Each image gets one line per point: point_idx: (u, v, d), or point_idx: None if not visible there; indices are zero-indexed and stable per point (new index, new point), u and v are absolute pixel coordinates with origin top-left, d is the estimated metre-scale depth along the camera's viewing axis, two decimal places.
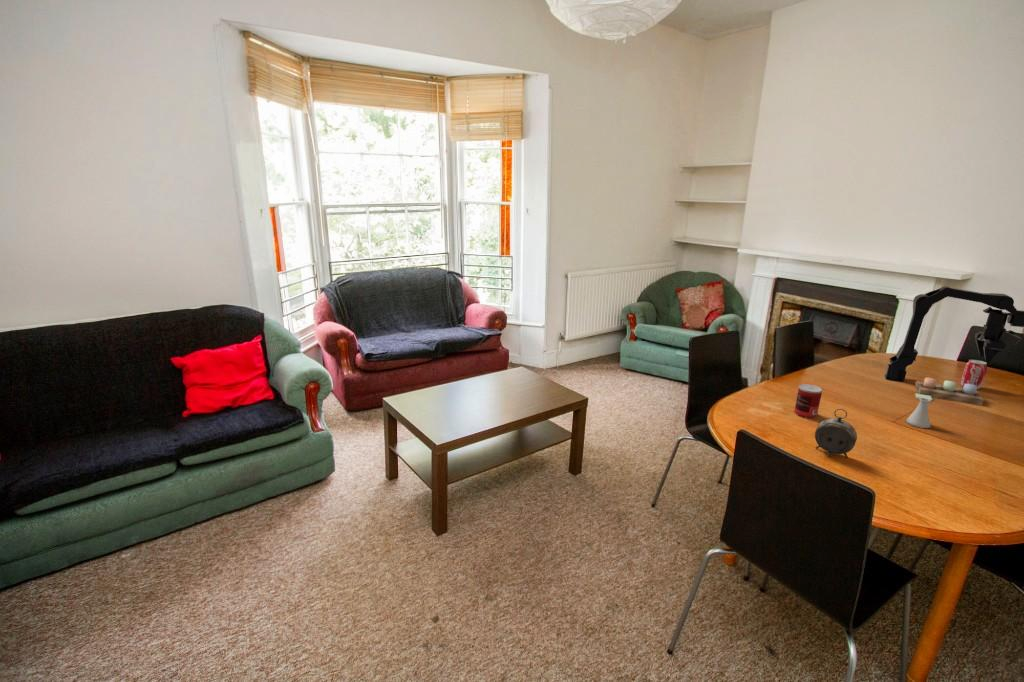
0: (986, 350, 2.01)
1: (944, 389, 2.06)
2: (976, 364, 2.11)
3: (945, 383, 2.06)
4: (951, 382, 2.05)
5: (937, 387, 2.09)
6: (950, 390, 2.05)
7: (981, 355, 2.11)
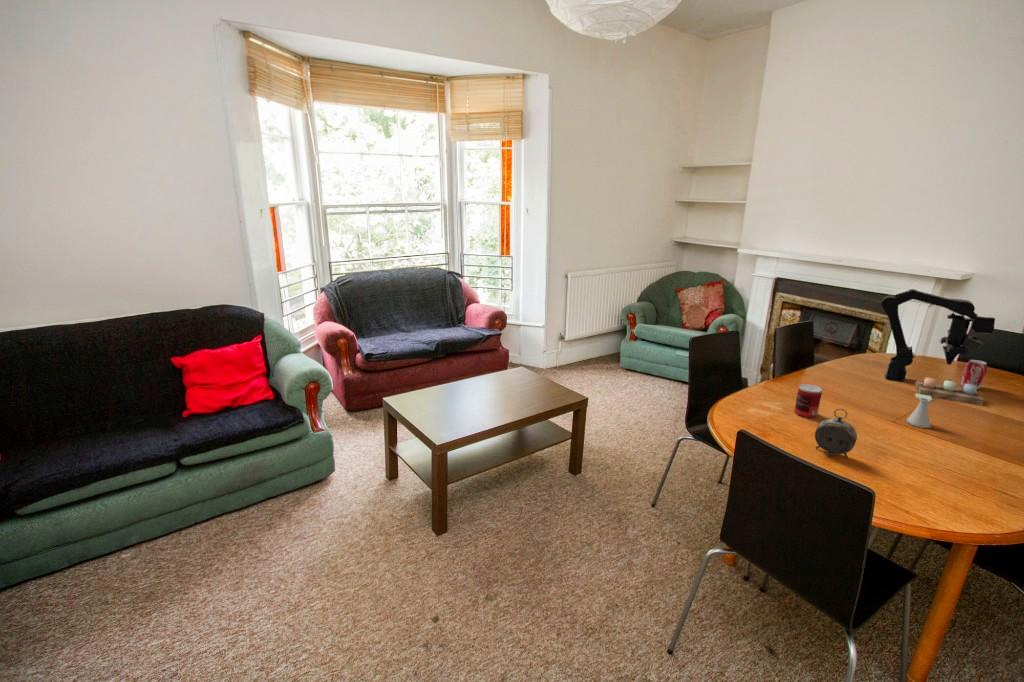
0: (947, 352, 2.10)
1: (944, 389, 2.06)
2: (976, 364, 2.11)
3: (945, 383, 2.06)
4: (951, 382, 2.05)
5: (937, 387, 2.09)
6: (950, 390, 2.05)
7: None
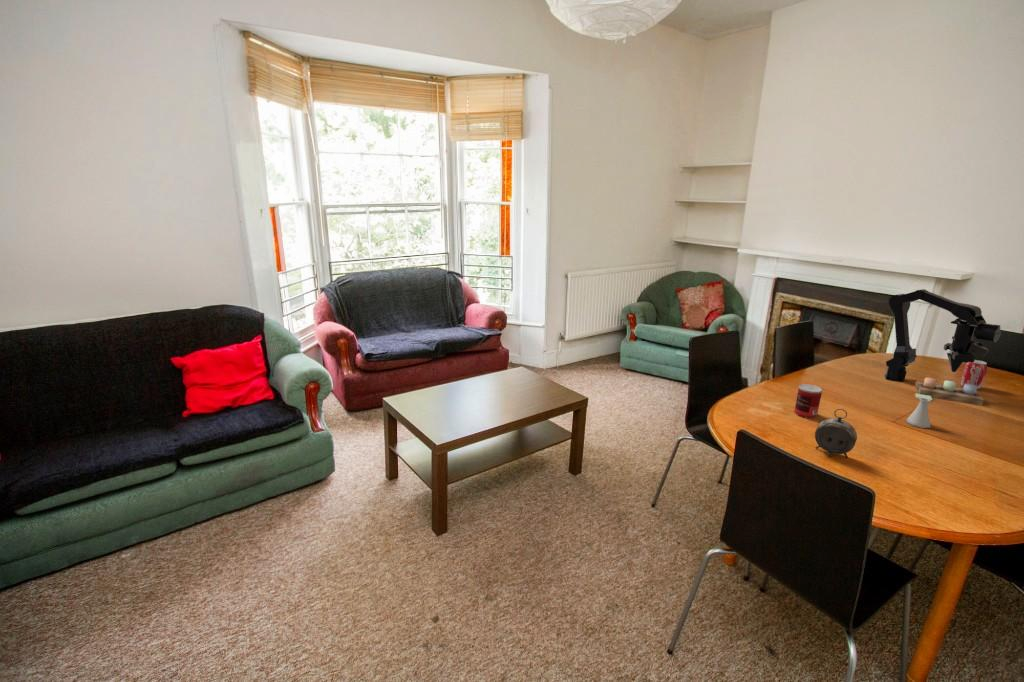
0: (952, 359, 2.03)
1: (944, 389, 2.06)
2: (976, 364, 2.11)
3: (945, 383, 2.06)
4: (951, 382, 2.05)
5: (937, 387, 2.09)
6: (950, 390, 2.05)
7: None
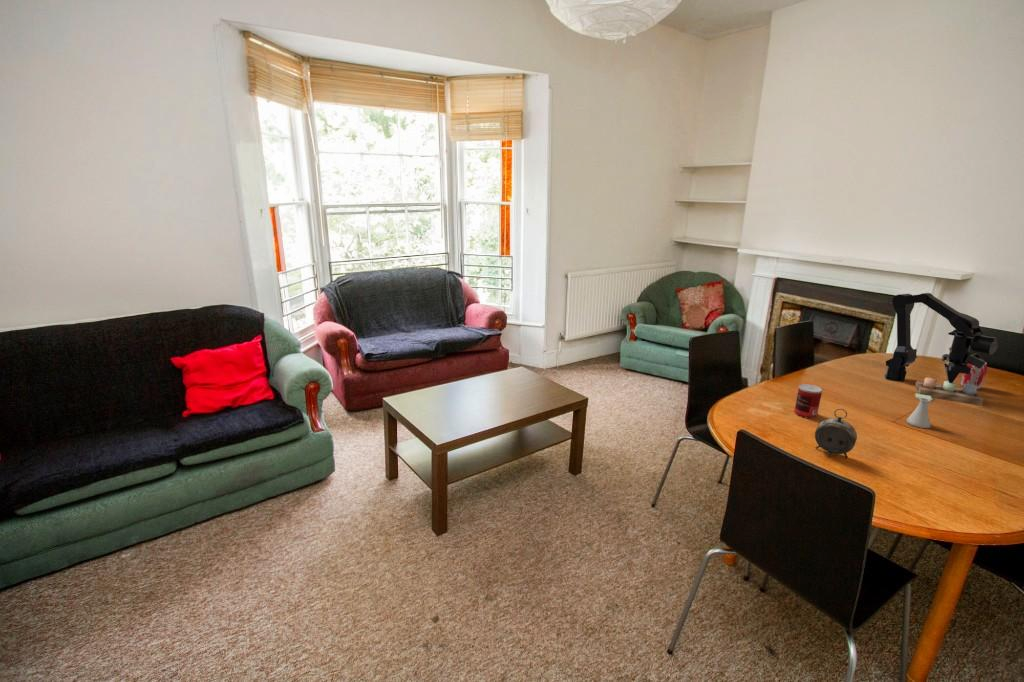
0: (948, 370, 2.03)
1: (944, 390, 2.06)
2: None
3: (945, 384, 2.06)
4: (951, 383, 2.05)
5: (937, 387, 2.09)
6: (950, 391, 2.05)
7: None
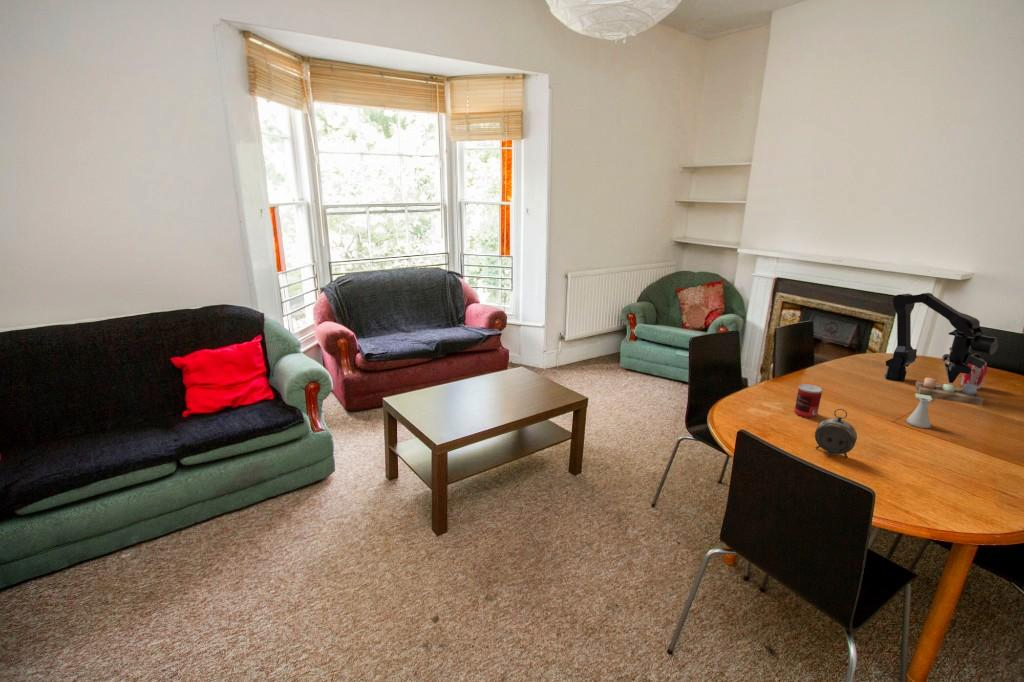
0: (949, 370, 2.03)
1: None
2: None
3: (944, 387, 2.06)
4: (950, 386, 2.06)
5: (937, 387, 2.09)
6: None
7: None
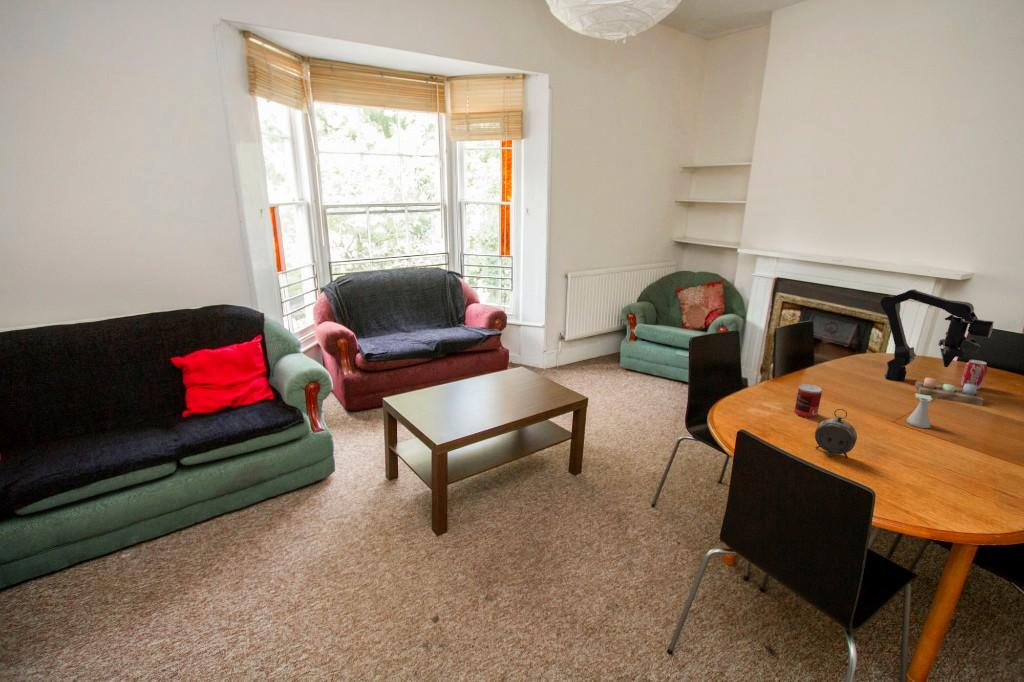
0: (944, 355, 2.07)
1: None
2: (976, 364, 2.11)
3: (944, 387, 2.06)
4: (950, 386, 2.06)
5: (937, 387, 2.09)
6: None
7: None
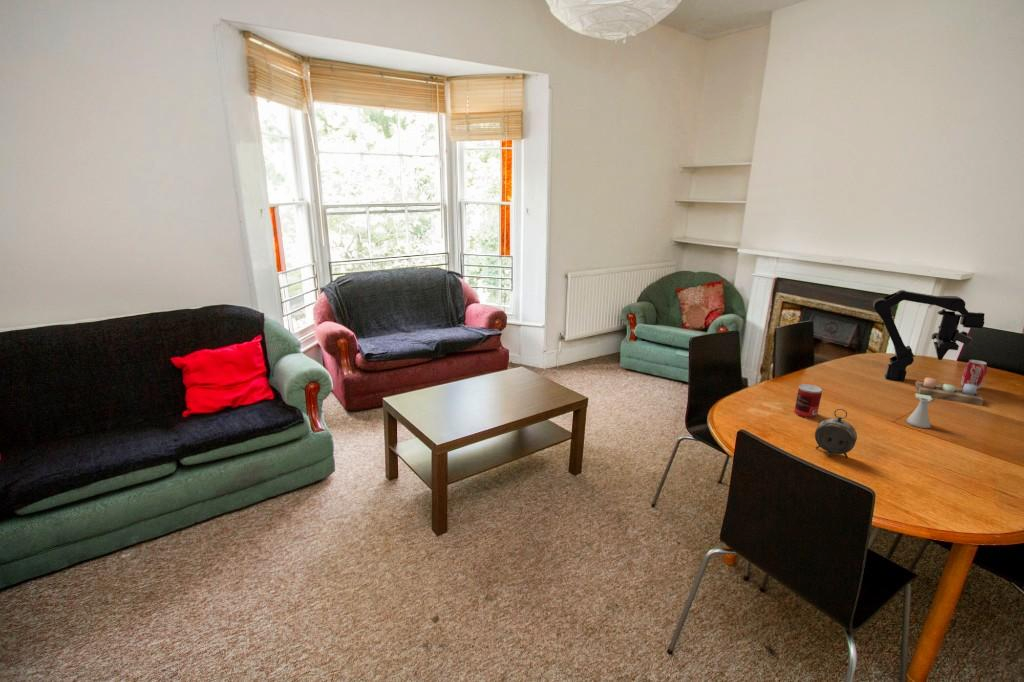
0: (938, 348, 2.13)
1: None
2: (976, 364, 2.11)
3: (944, 387, 2.06)
4: (950, 386, 2.06)
5: (937, 387, 2.09)
6: None
7: None
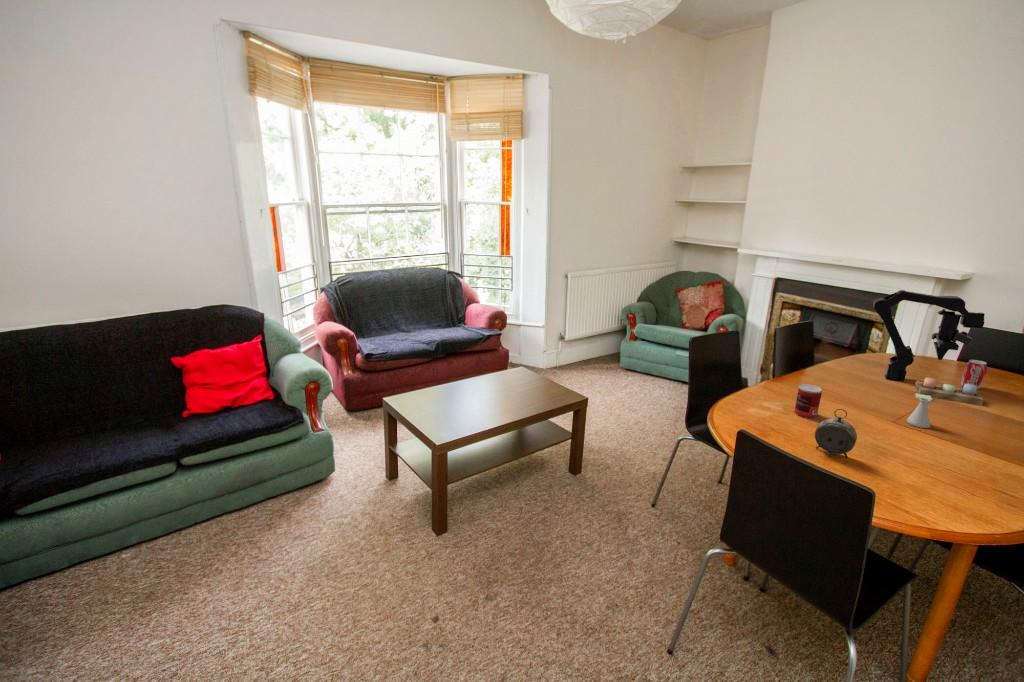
0: (938, 348, 2.13)
1: None
2: (976, 364, 2.11)
3: (944, 387, 2.06)
4: (950, 386, 2.06)
5: (937, 387, 2.09)
6: None
7: None
